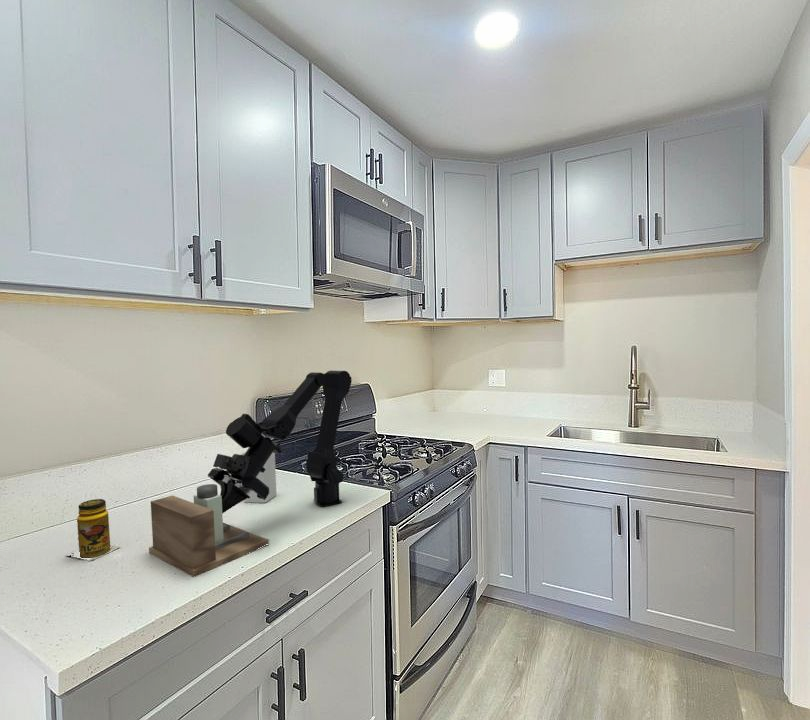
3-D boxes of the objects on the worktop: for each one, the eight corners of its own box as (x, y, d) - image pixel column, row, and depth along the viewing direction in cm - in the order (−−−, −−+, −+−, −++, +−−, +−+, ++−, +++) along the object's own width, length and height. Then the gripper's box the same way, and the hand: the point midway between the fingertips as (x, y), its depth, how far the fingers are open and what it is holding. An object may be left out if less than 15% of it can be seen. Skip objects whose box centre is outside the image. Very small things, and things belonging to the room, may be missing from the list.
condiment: (90, 561, 105) (87, 508, 104) (65, 556, 108) (61, 505, 108) (120, 548, 112) (117, 498, 111) (96, 543, 115) (93, 494, 114)
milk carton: (265, 503, 140) (262, 440, 139) (243, 502, 141) (240, 439, 140) (276, 495, 147) (274, 435, 146) (255, 494, 148) (253, 435, 147)
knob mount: (221, 526, 123) (219, 481, 123) (268, 544, 111) (266, 494, 110) (149, 552, 109) (146, 501, 108) (193, 576, 96) (190, 519, 96)
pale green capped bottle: (211, 535, 113) (209, 482, 113) (225, 541, 110) (222, 486, 109) (193, 542, 110) (191, 487, 109) (207, 548, 106) (204, 491, 106)
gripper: (213, 436, 120) (171, 490, 112) (256, 444, 109) (214, 505, 101) (241, 460, 127) (204, 513, 119) (285, 470, 115) (248, 529, 107)
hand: (216, 514), depth 111 cm, fingers closed, pressing on pale green capped bottle
